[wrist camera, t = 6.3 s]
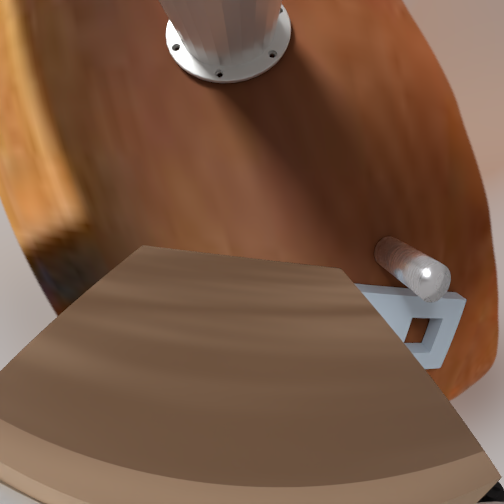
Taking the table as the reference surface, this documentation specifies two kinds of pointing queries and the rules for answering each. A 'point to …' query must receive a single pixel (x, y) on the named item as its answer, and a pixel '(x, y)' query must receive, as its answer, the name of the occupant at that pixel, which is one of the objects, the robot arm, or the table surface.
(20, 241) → the table surface
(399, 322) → the board
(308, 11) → the table surface
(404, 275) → the peg
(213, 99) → the table surface
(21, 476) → the wooden box
